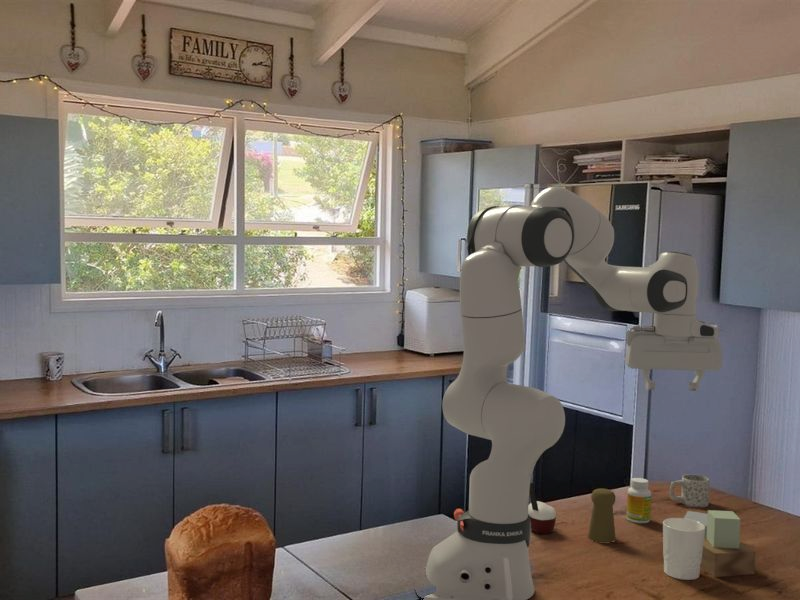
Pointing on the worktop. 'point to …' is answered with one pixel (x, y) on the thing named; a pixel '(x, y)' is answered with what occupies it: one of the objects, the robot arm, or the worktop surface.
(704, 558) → the walnut block
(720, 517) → the sage block
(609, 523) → the cork
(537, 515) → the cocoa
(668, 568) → the white cup
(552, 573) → the worktop surface
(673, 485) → the mug
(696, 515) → the grey block
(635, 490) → the supplement bottle
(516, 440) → the robot arm
